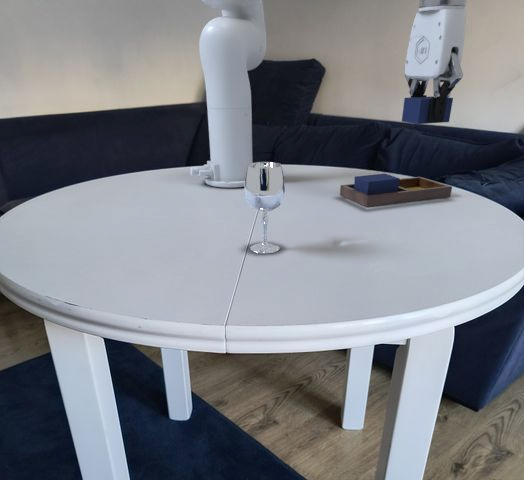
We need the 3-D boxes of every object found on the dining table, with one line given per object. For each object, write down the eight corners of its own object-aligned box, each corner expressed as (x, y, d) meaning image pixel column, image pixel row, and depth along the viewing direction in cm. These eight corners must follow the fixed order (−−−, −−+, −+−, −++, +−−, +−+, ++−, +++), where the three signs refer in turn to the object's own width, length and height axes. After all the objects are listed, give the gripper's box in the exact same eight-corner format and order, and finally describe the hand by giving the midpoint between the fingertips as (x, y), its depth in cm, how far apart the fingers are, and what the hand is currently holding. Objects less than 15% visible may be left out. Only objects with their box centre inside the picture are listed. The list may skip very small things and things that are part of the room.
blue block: (366, 203, 93) (368, 181, 91) (352, 197, 97) (354, 176, 95) (397, 199, 95) (399, 178, 93) (382, 193, 99) (385, 173, 97)
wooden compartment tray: (449, 199, 97) (452, 186, 95) (366, 210, 91) (367, 196, 89) (418, 189, 105) (420, 176, 103) (339, 198, 99) (340, 185, 97)
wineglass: (245, 242, 75) (243, 161, 69) (281, 241, 76) (282, 160, 70) (246, 255, 71) (244, 169, 64) (286, 254, 71) (287, 168, 65)
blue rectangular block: (417, 124, 88) (421, 99, 86) (401, 121, 92) (404, 97, 90) (449, 122, 90) (453, 97, 88) (431, 119, 94) (435, 96, 92)
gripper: (394, 5, 87) (382, 117, 96) (459, -5, 73) (438, 126, 83) (428, 6, 89) (413, 115, 98) (498, -4, 75) (473, 124, 85)
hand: (425, 119), depth 90 cm, fingers closed on blue rectangular block, 5 cm apart
